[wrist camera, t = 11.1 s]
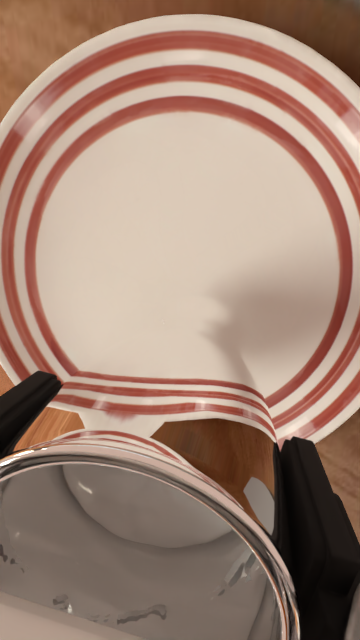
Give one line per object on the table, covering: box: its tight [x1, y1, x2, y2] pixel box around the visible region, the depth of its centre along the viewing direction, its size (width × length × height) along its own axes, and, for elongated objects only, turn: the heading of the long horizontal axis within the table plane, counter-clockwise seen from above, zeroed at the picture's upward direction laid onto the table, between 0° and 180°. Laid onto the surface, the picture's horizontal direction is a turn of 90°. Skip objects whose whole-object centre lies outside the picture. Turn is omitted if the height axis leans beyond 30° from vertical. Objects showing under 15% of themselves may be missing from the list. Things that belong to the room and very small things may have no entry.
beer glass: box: [0, 296, 303, 640], centre depth 13 cm, size 7×7×15 cm
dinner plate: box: [0, 14, 360, 452], centre depth 22 cm, size 27×27×3 cm
